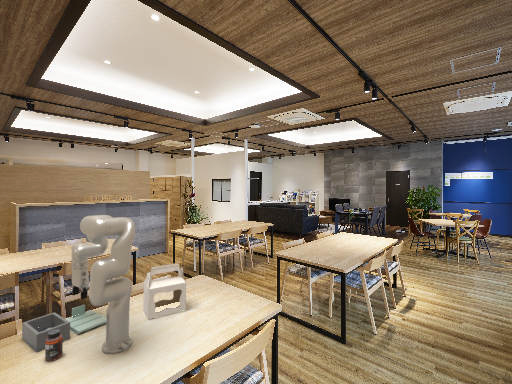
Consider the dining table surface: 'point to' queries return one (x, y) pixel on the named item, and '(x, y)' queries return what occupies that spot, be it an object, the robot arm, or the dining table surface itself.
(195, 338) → the dining table surface
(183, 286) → the gable box
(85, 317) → the lid
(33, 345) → the tub
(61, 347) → the supplement bottle
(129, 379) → the dining table surface
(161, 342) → the dining table surface
